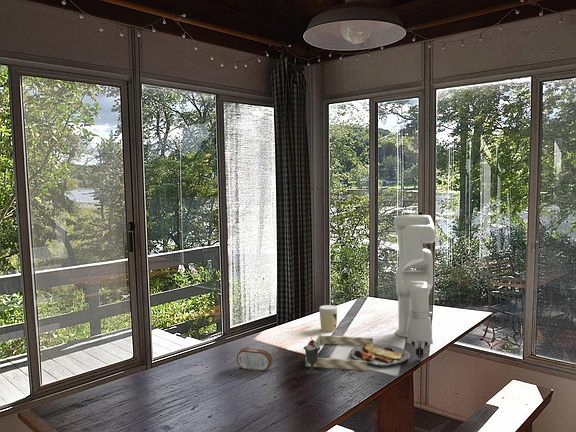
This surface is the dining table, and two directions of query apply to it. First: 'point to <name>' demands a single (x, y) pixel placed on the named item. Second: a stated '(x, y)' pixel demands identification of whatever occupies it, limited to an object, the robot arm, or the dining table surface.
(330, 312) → the coffee cup
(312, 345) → the sundae
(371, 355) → the food plate
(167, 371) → the dining table surface
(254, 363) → the tin
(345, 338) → the bay
